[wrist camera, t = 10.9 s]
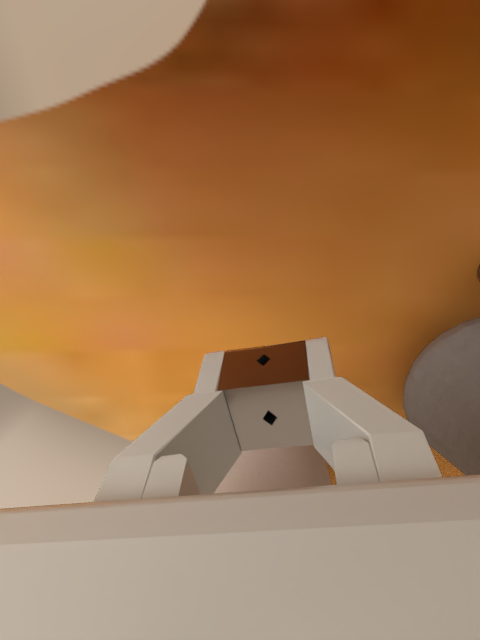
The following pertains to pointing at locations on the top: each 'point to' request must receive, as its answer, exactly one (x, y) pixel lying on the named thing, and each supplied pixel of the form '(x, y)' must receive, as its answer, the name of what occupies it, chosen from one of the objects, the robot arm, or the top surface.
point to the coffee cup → (276, 470)
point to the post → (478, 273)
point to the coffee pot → (449, 395)
